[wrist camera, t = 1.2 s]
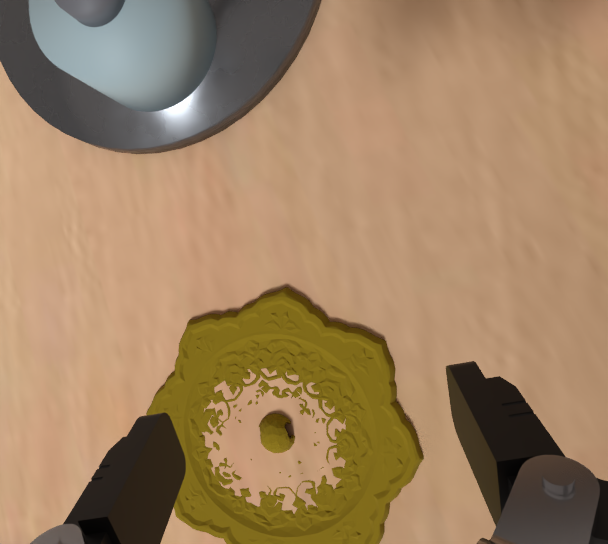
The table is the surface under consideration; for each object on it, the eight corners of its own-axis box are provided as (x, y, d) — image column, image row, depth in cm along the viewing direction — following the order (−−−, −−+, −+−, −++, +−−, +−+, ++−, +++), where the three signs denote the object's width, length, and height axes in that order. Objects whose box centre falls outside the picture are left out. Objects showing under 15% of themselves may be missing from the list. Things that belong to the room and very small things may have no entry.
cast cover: (125, -42, 33) (45, -131, 26) (239, -2, 31) (186, -86, 24) (75, 84, 34) (-15, 33, 27) (182, 132, 32) (115, 90, 25)
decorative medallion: (198, 587, 34) (189, 601, 33) (127, 339, 35) (115, 342, 34) (455, 540, 30) (458, 554, 28) (362, 260, 31) (360, 259, 30)
